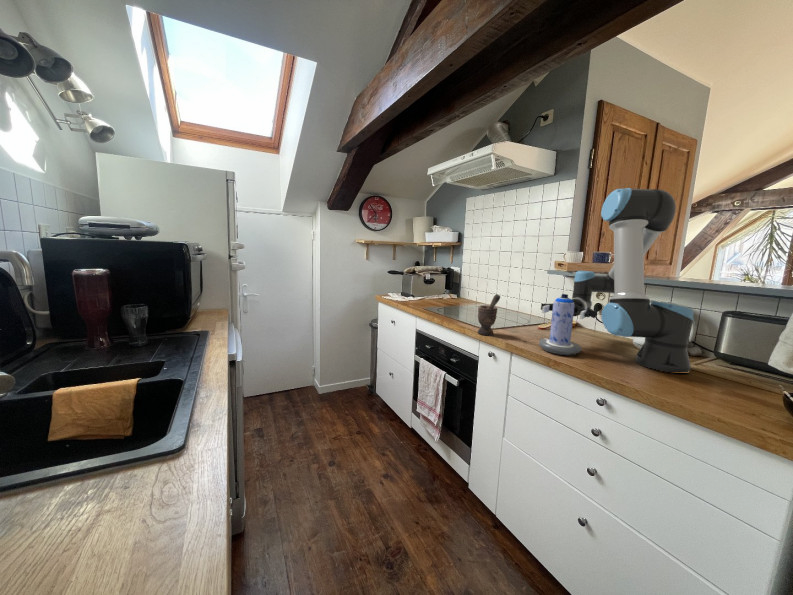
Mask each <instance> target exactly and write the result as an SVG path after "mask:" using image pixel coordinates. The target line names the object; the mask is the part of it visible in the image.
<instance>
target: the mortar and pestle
mask: <svg viewBox="0 0 793 595" xmlns="http://www.w3.org/2000/svg"><path fill="white" fill-rule="evenodd" d="M500 299H501V295H499V294H495V295H494V296H493V297H492V299H491V302H490V304H488V305H486V304H485V305H484V304H483V305H479V306H478V308H477V320H478V323H479V325H480V326H481V327H480V328H478V330H477V332H476V333H477V334H479V335H482V336H494V331H493V329H492V328H491V327H492V326H493V325H495V322H496V320H497V315H498V307H496V305H497V304H498V303H499V301H500Z"/></svg>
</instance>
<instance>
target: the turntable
mask: <svg viewBox="0 0 793 595" xmlns="http://www.w3.org/2000/svg"><path fill="white" fill-rule="evenodd" d="M549 340H550V337H549V338H540V339H539V341H538V345H539V347H541V348H542V349H543V348H545V349H548V350H551V351H555V352H561V353H576V354H579V353H581V352H582V350H581V349H582V346H581V345H580V344H578V343H576V342H573V341H570V343H571V345H570V346H560V345H555V344H552V343H550V342H549Z"/></svg>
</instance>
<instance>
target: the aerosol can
mask: <svg viewBox="0 0 793 595" xmlns="http://www.w3.org/2000/svg"><path fill="white" fill-rule="evenodd" d="M571 299H572V298H570V297H569V294H566V293H562V294H561V295H560V296H559V297H557V298H555V300H553V302H552V304H553V311H551V314H552V315H551V322H550V332H549V338H550V340H549V342H550V343H552V344H555V345H560V346H570V345H571V343H570V342H572V341H571V338H572V330H573V321H574V316H573V314H574V306H575V305H574V302H573V301H572V300H571Z"/></svg>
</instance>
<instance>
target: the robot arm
mask: <svg viewBox="0 0 793 595" xmlns="http://www.w3.org/2000/svg"><path fill="white" fill-rule="evenodd" d="M601 207H602V208H601V212H600V213H601V215H600V216H601V218H602V219H603V221H605V222H608V229H609V230H611V231H613V265H612V267H611V268H610V270H609V271H608V273H607V275H603V276H602V275H595V272H594V271H590V270H578V271H576V272H575V276H574V279H573V289H572V297H571V298H570V299H571V300H572V301H573V302H574V305H575V306H574V314H573V317H578V316H579V320H583V319H585V318H592V319H595V318H596V315H597V311H596V310H594V309H592V305H593V303H592V296H593V295H592V294H593V293H603V294H604V293H607V294H613V295H612V296H611V297H610V298H609V302H608V303H606V304H605V305H604V306H603V308H602V310H601V321H602V324H603V327H604V328H605V329H606V331H607V332H608V333H609V334H611V335H613V336H618V337H624V338H625V337H626V338H629V337H630V338H644V342H643V344H642V346H641V347H640V348H639V350H638V352H637V353H636V355H635V360H634V361H635V363H636V364H638V365H640V366H642V367H644V366H645V367H644V368H647V367H648V369H650V368H652V369H651V370H654V369H656V370H655V371H657V370H662V371H667V372H688V371H690V372H691V366H692V364H691V362H690V356H689V352H688V348H689V346H688V345H689V340H690V336H691V332H692V327H693V323H694V314H695V312H694V310H693V309H692V308H691V307H688V306H684V305H679V304H675V303H674V304H673V303H667V302H663V301H656V300H652V301H651V299H650V298H649V297H648V296H647V295H646V294H645V268H644V267H645V263H644V256H645V255H646V254H647V252H648V251H649V249H650V248H651V247H652V245H653V244H654V243H655V241H656V240H657V238H658V237H659V236H660V234H661V233H663V232H666V231H667V229H669V227H670V225H671V224H672V223H673V221H674V218H675V216H676V215H675V214H676V210H677V207H676V201H675V198H674V197H673V196H672V194H670V193H669V192H668V191H666V190H664V189H659V188H655V189H654V188H652V189H650V188H631V187H626V188H617V189H614V190H613V191H611V192H610V193H609V194H608V195H607V197H606V198H605V200H604V202H603V204H602V206H601ZM540 310H541V311H542V312H541V313H542V314H546V313H548V312H552V311H553V303H541V305H540ZM662 371H661V372H662ZM667 372H666V373H667Z"/></svg>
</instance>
